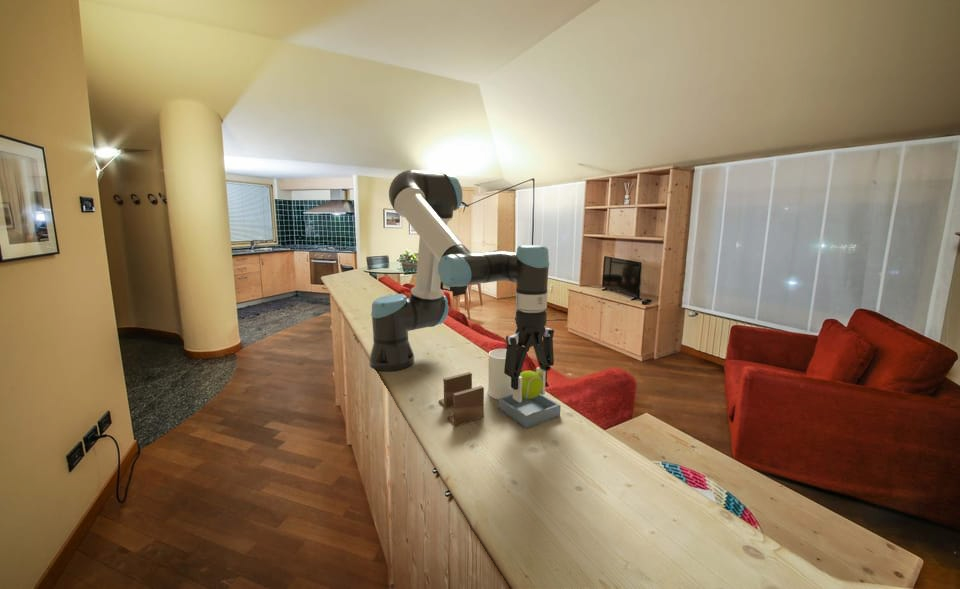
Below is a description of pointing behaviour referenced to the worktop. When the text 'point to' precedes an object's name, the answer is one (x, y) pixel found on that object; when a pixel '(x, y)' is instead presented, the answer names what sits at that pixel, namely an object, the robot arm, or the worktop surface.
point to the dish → (529, 410)
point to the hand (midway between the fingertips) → (528, 396)
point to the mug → (498, 375)
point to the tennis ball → (531, 384)
